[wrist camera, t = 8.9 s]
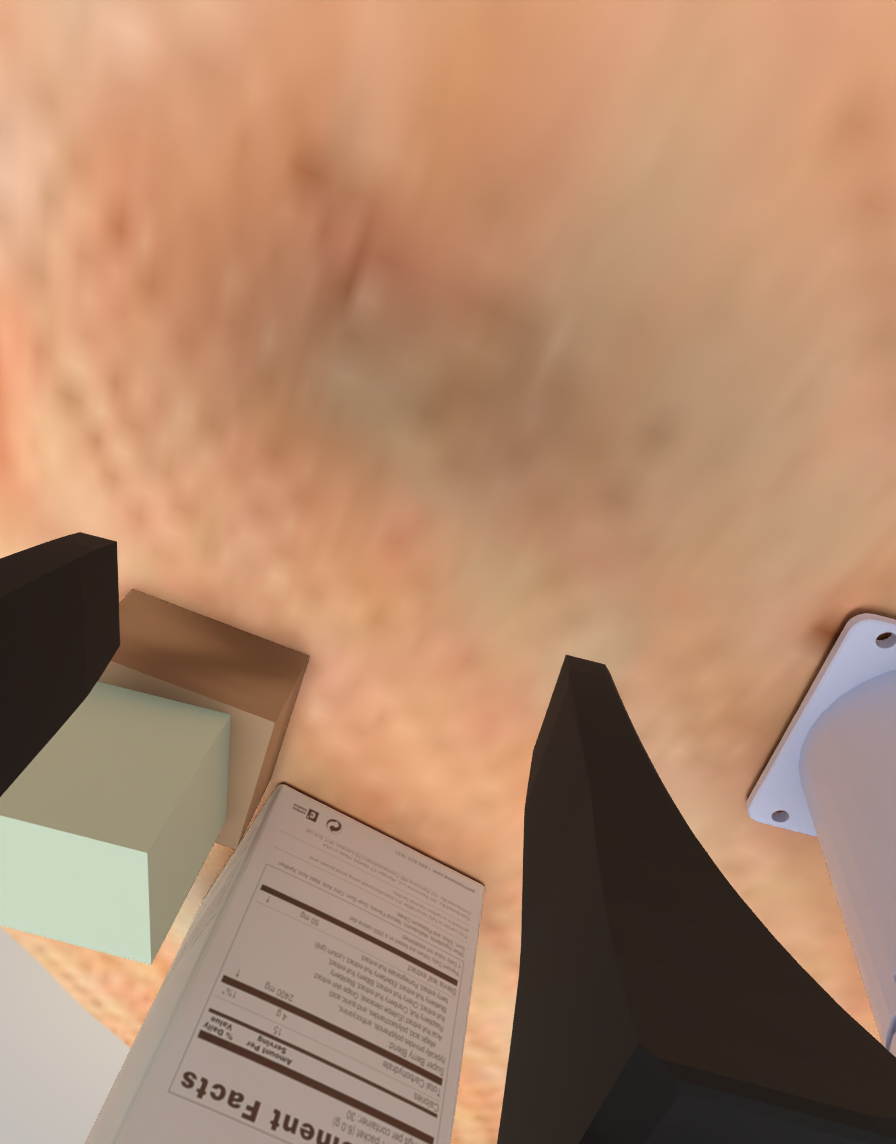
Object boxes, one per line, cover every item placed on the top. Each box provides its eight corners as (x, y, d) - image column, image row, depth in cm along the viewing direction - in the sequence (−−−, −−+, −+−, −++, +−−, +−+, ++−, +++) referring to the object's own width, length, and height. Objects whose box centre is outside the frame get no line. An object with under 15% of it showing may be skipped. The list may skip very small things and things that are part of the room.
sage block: (230, 714, 23) (147, 852, 18) (226, 820, 25) (151, 965, 21) (81, 677, 23) (-35, 806, 19) (91, 785, 25) (-11, 922, 21)
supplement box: (386, 993, 34) (262, 1524, 21) (198, 902, 33) (-53, 1405, 20) (495, 884, 29) (420, 1477, 17) (281, 774, 28) (24, 1319, 15)
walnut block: (312, 651, 26) (275, 722, 23) (273, 773, 29) (236, 850, 26) (137, 585, 25) (75, 647, 22) (116, 714, 28) (60, 785, 25)
